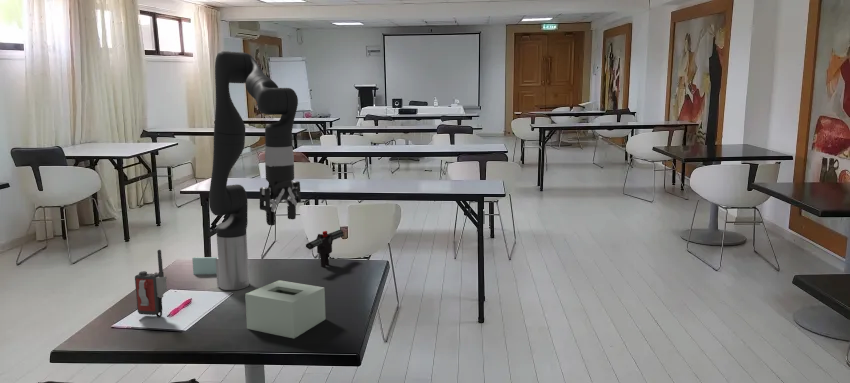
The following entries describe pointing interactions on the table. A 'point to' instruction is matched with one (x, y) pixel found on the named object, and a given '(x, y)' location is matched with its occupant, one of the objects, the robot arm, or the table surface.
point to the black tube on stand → (324, 245)
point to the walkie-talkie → (150, 290)
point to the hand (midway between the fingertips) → (281, 222)
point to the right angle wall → (204, 265)
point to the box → (285, 308)
